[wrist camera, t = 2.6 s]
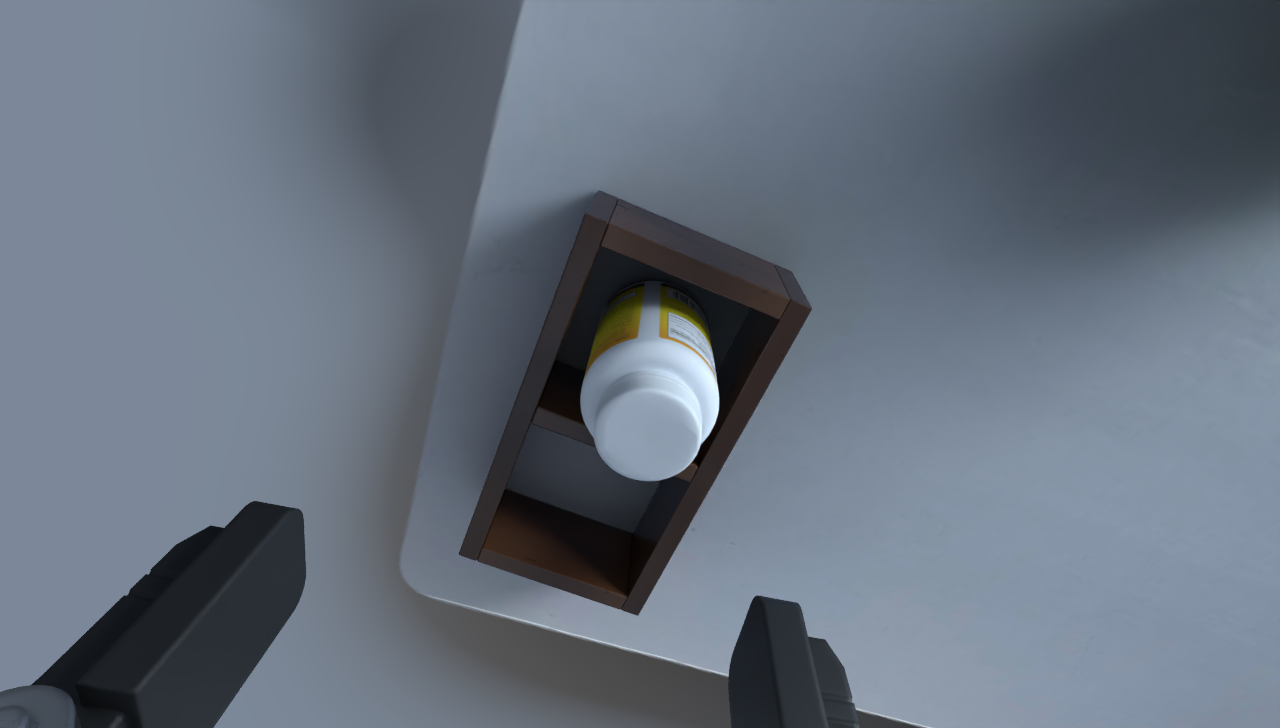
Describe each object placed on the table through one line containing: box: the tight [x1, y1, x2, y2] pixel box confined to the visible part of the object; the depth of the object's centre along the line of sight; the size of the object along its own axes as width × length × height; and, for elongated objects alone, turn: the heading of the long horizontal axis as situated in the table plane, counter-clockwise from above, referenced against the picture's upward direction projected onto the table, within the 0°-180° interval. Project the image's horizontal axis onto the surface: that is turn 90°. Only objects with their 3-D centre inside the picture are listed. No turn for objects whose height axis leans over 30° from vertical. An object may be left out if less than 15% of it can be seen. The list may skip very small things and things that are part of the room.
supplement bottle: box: [580, 281, 719, 481], centre depth 28 cm, size 6×6×10 cm
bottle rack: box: [459, 191, 812, 615], centre depth 32 cm, size 10×19×5 cm, turn 158°
